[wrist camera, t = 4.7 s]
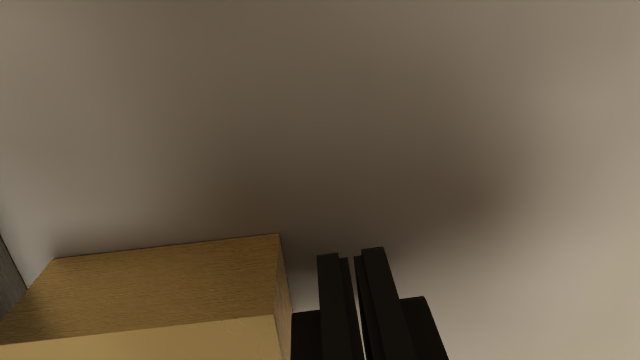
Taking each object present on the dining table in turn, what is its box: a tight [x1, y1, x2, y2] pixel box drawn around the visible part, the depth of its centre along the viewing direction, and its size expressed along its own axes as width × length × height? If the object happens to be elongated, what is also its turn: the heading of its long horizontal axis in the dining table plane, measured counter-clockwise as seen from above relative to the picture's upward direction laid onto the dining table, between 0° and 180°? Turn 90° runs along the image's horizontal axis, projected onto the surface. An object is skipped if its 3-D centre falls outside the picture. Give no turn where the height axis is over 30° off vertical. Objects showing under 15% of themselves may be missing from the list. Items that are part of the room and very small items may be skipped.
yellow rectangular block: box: [0, 233, 293, 360], centre depth 11 cm, size 3×6×3 cm, turn 96°
